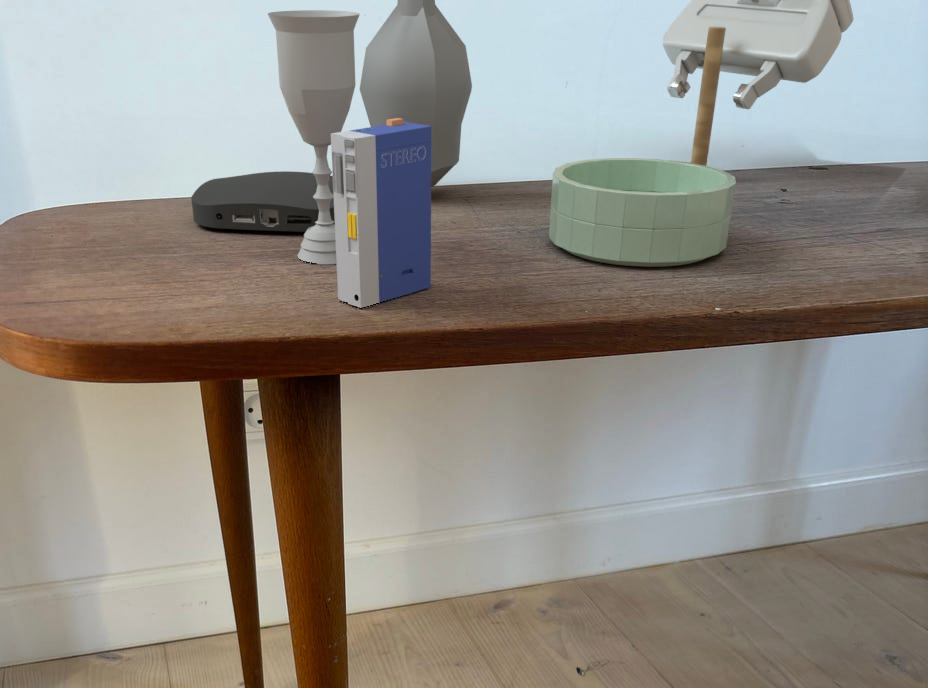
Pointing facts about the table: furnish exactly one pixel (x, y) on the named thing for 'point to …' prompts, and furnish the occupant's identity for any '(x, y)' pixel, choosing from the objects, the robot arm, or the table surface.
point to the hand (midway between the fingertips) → (705, 99)
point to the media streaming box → (260, 202)
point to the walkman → (382, 211)
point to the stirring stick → (708, 94)
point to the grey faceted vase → (419, 78)
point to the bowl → (641, 211)
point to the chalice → (317, 99)
